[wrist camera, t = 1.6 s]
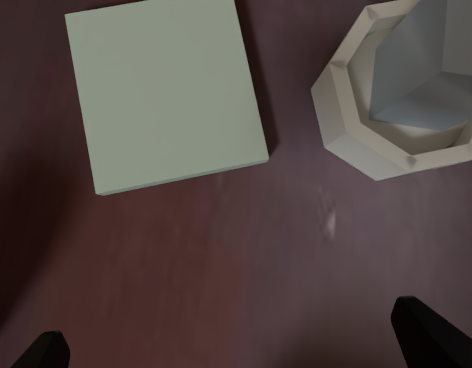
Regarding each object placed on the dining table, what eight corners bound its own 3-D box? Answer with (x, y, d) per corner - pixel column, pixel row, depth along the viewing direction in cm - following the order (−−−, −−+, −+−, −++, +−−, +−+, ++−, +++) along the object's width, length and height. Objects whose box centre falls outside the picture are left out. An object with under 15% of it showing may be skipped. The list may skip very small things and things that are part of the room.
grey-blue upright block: (441, 131, 22) (550, 88, 15) (368, 120, 22) (441, 71, 15) (447, 60, 23) (555, -16, 15) (375, 49, 23) (450, -33, 15)
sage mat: (266, 162, 25) (269, 158, 23) (103, 195, 24) (96, 193, 23) (230, -1, 26) (230, -14, 24) (74, 26, 25) (64, 14, 24)
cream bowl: (473, 160, 25) (527, 148, 21) (334, 189, 25) (358, 183, 20) (436, 24, 26) (479, -15, 22) (300, 49, 26) (317, 14, 21)
